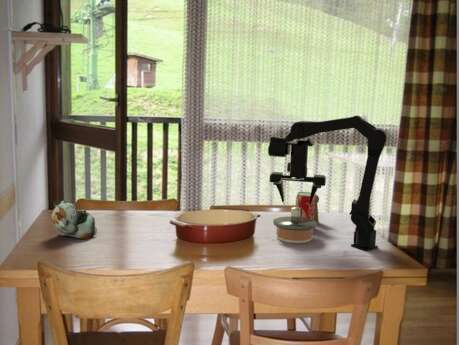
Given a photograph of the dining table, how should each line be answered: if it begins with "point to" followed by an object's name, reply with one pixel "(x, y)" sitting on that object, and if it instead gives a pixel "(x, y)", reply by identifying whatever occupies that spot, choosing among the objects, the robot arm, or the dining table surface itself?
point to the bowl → (294, 235)
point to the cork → (316, 209)
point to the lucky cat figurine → (73, 221)
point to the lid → (295, 221)
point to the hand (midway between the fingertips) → (296, 203)
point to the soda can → (305, 205)
